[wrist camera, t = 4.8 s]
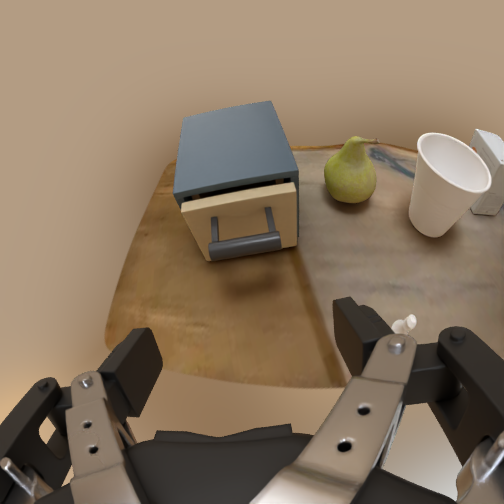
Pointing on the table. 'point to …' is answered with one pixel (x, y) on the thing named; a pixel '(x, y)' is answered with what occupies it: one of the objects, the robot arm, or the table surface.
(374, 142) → the fruit
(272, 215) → the drawer
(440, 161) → the cup
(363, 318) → the robot arm
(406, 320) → the chess pawn
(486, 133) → the small box
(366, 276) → the table surface
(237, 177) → the cabinet
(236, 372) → the table surface
